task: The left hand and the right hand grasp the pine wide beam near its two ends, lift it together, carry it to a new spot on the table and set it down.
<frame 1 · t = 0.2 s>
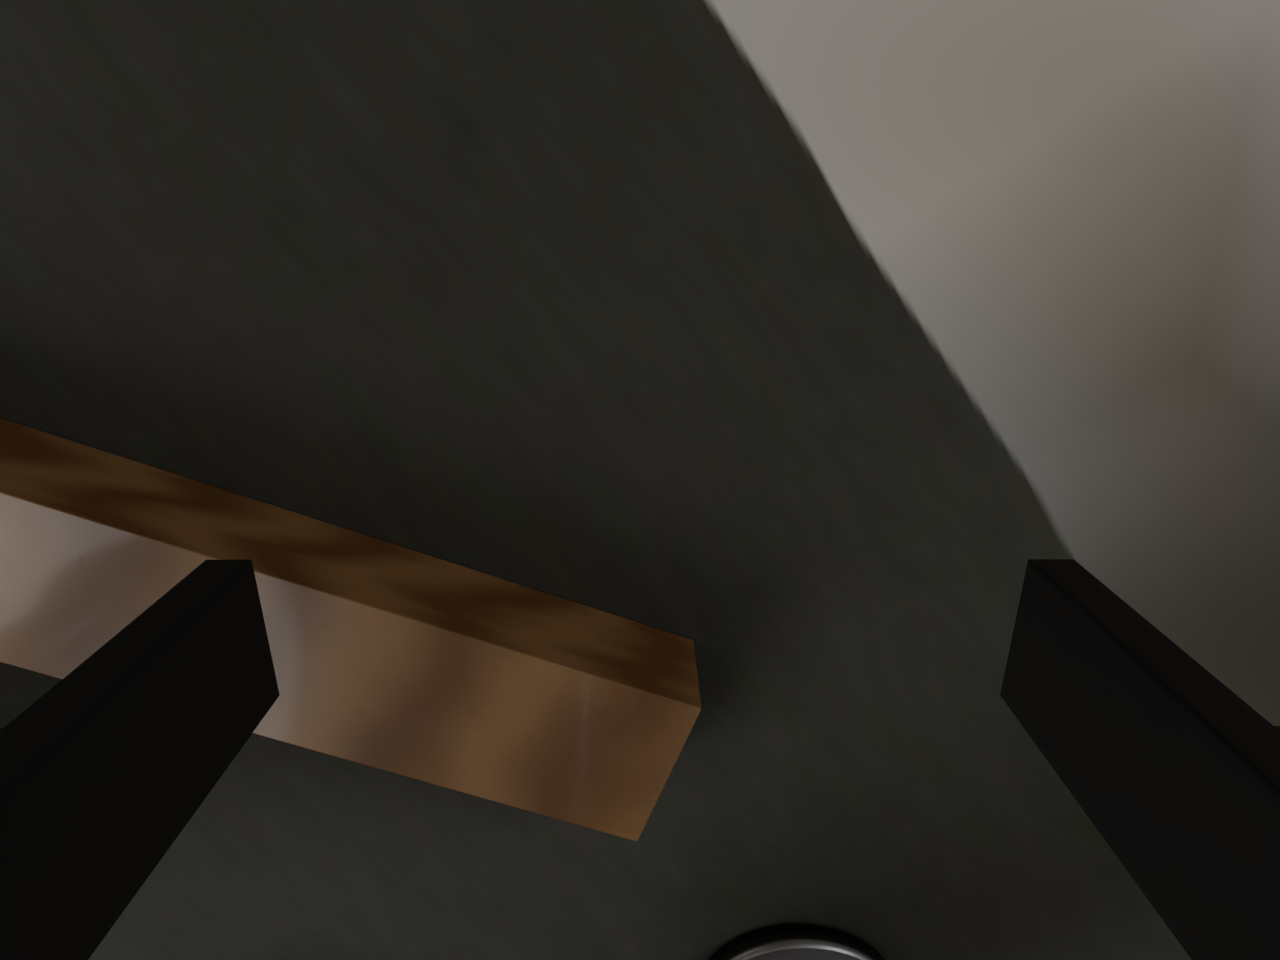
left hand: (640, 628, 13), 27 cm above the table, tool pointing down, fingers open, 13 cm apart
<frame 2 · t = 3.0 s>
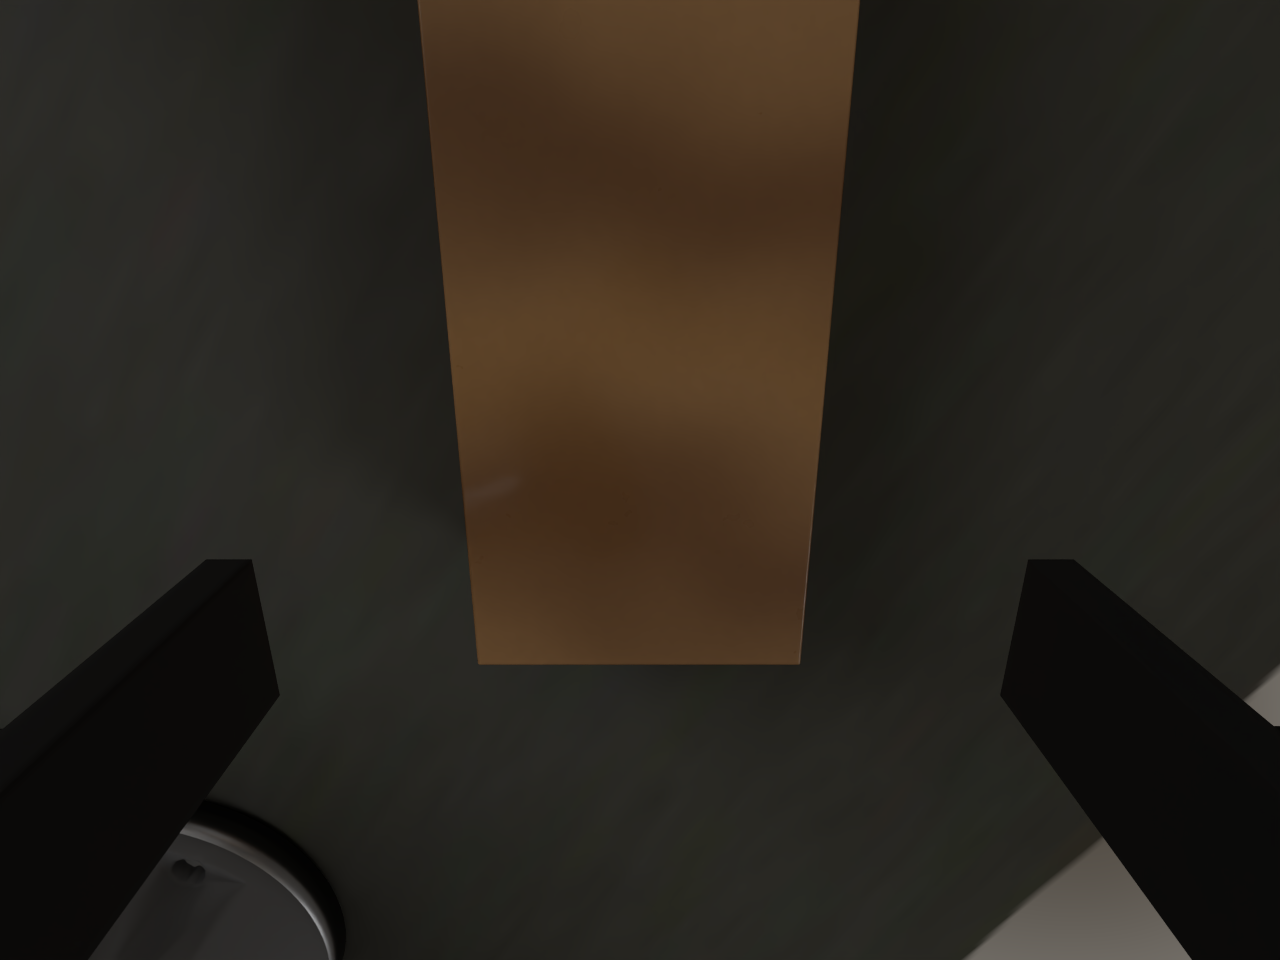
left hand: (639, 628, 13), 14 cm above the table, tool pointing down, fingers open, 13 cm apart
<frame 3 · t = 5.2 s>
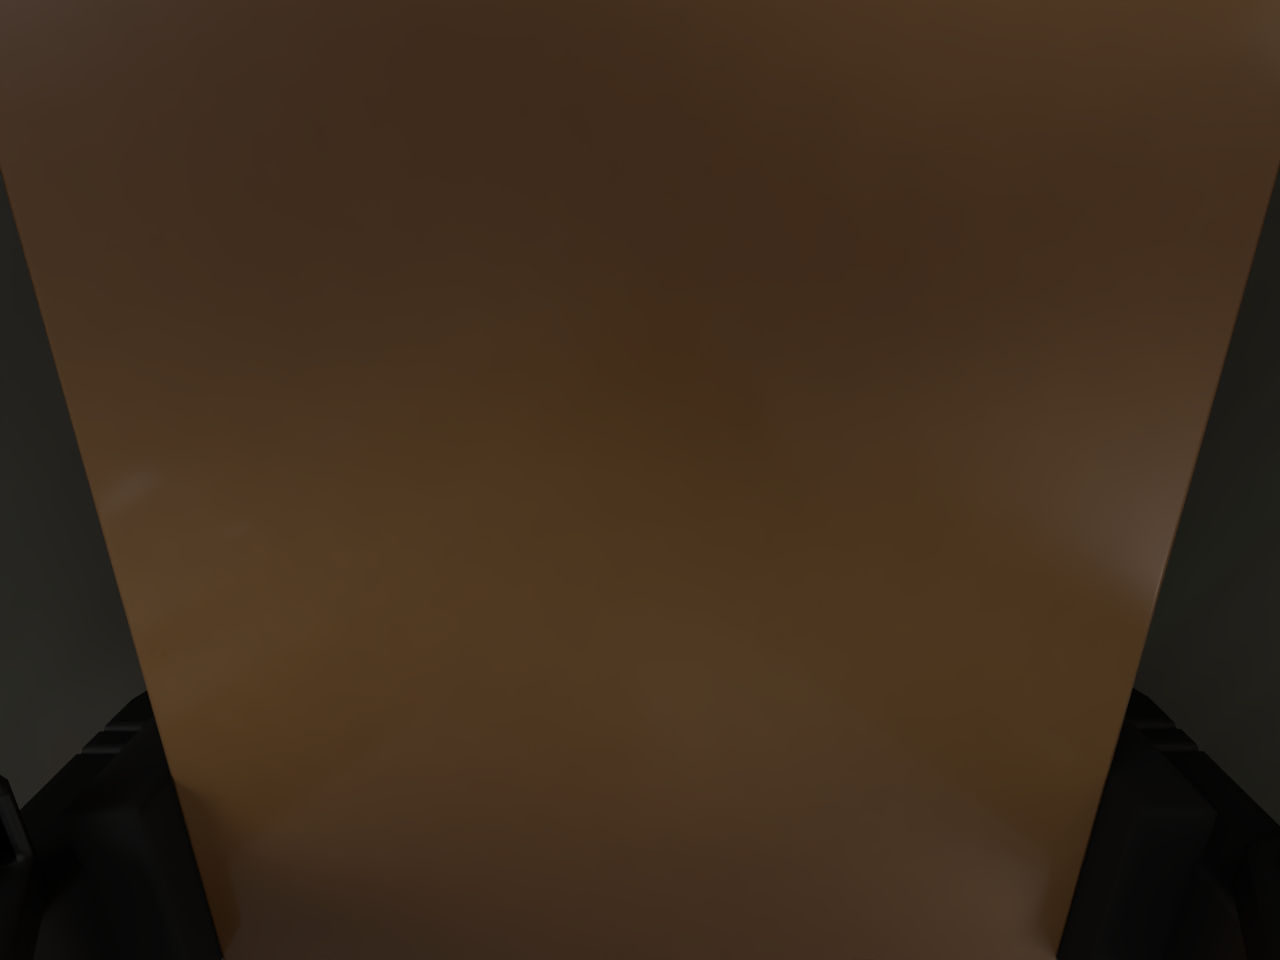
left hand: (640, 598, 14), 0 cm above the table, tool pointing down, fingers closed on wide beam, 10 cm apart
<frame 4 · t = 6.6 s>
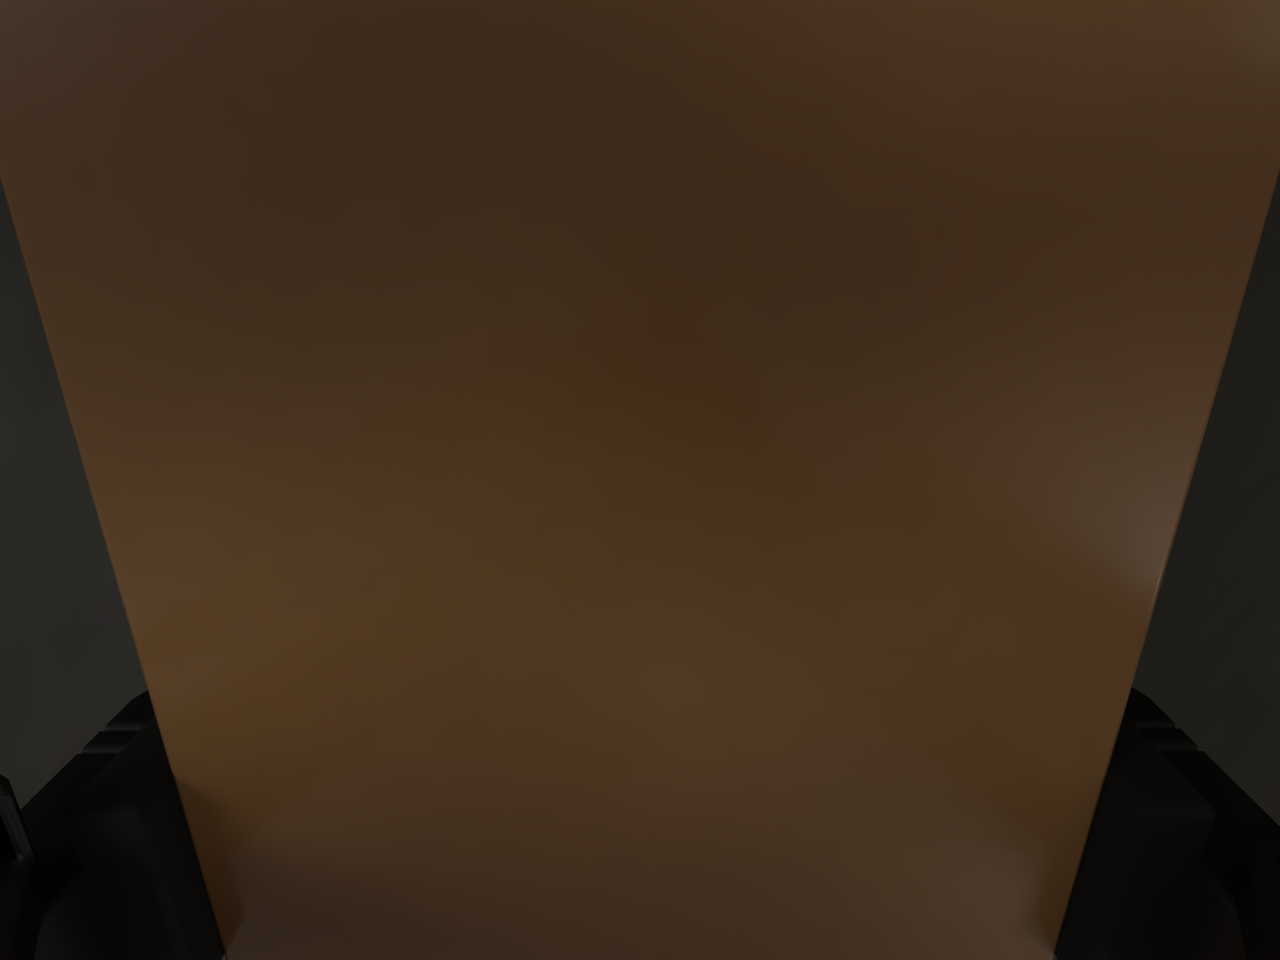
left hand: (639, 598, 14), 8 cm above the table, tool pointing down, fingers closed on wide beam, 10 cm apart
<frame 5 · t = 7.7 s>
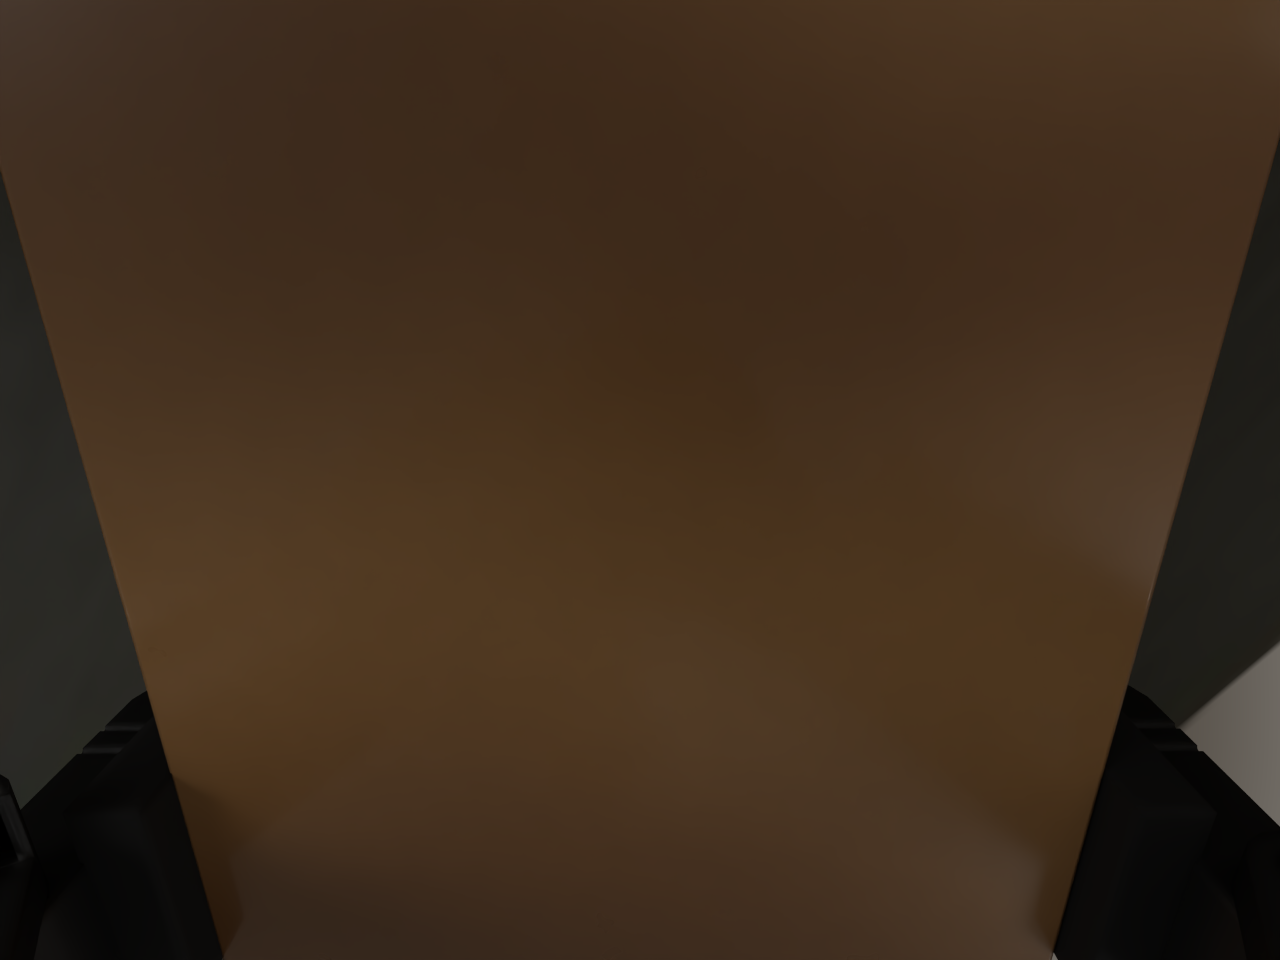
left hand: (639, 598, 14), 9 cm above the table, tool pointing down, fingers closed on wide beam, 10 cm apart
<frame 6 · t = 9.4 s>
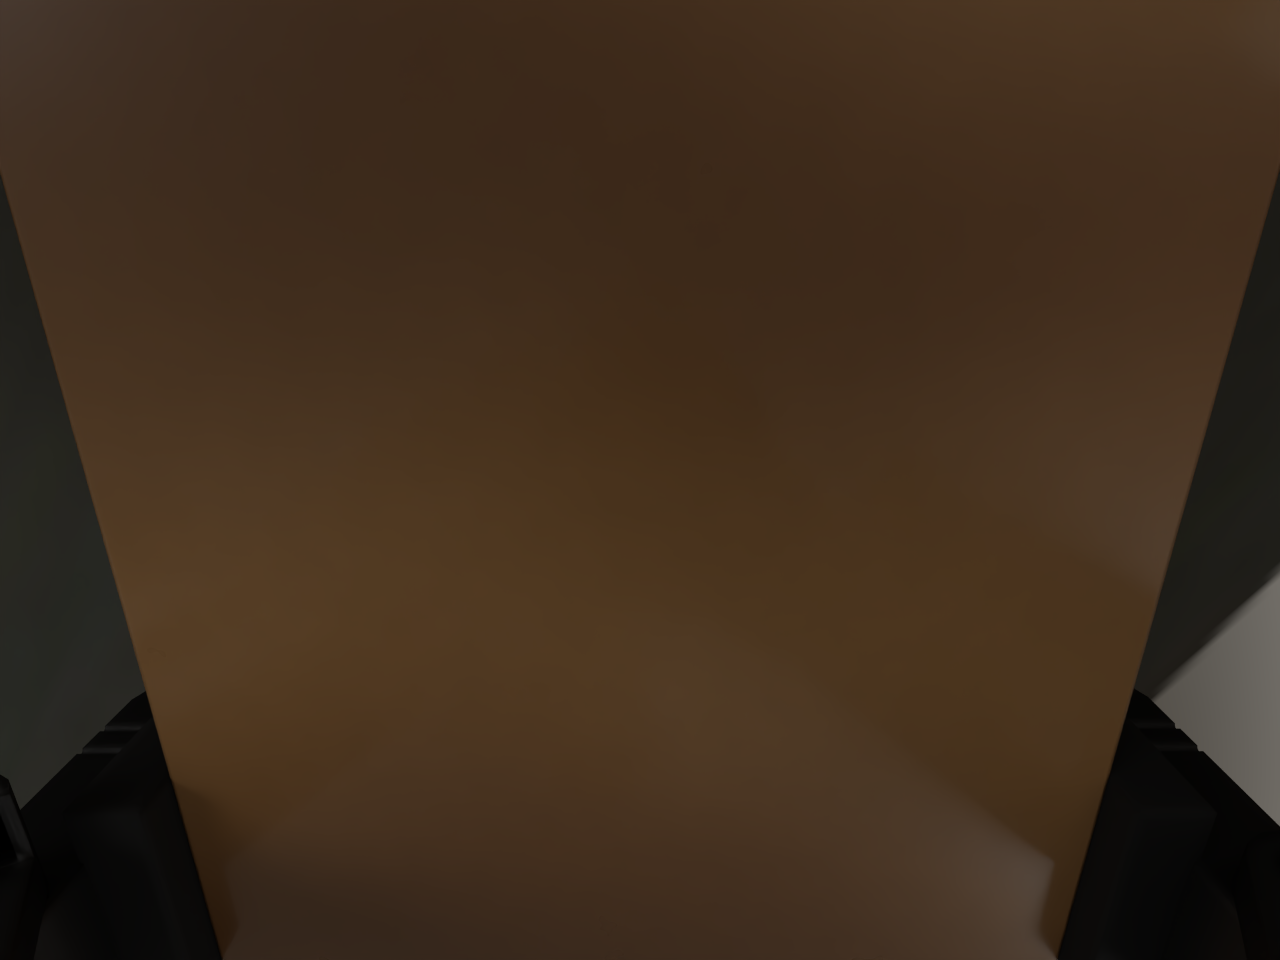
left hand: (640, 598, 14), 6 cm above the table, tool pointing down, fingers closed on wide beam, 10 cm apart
when the left hand's fingers open (2 cm above the table, at t = 10.6 s): wide beam stays where it is, on the table.
when the right hand's fingers open (1 cm above the table, at t = 10.6 s): wide beam stays where it is, on the table.
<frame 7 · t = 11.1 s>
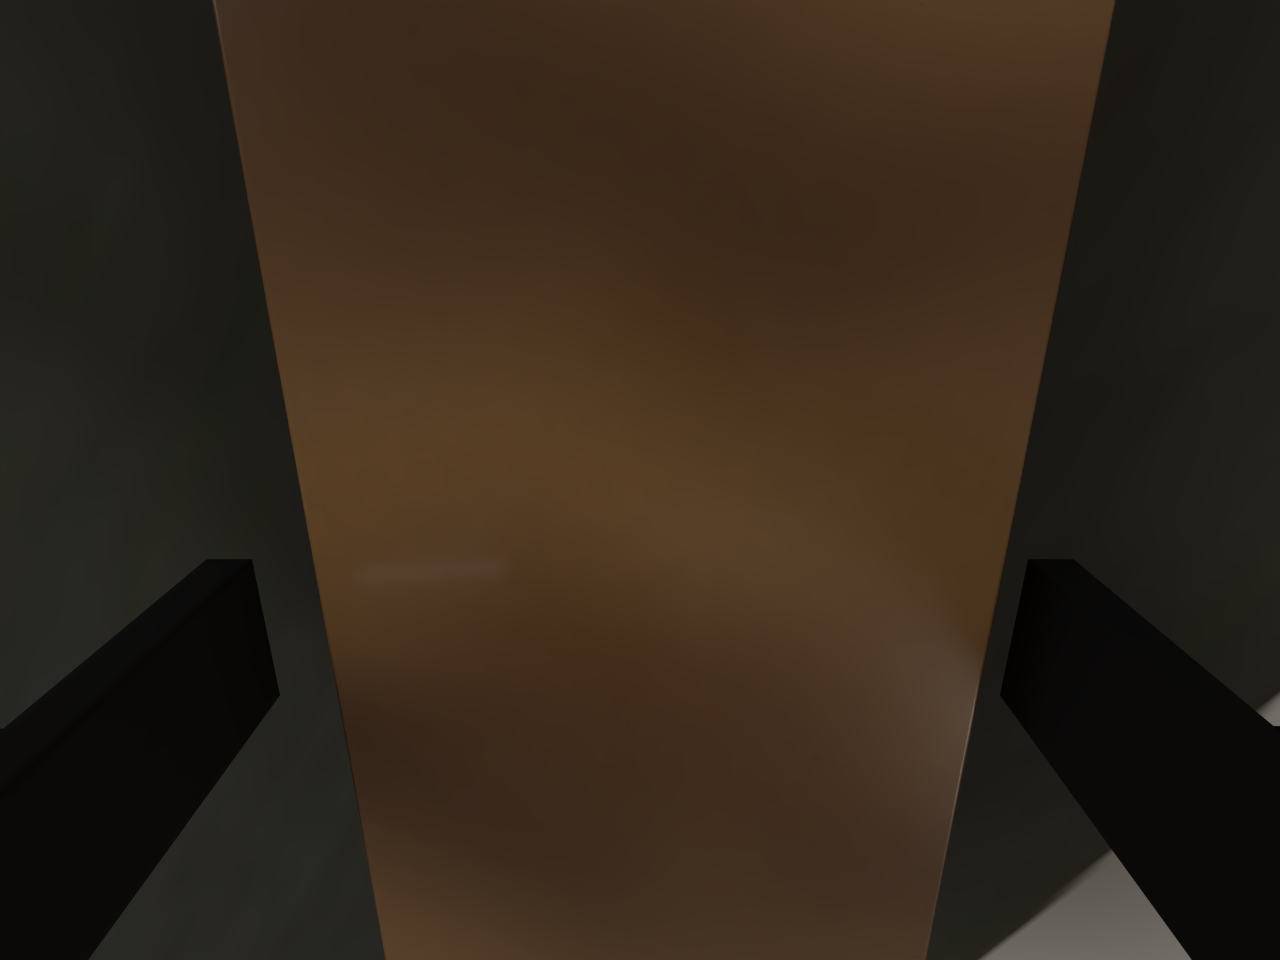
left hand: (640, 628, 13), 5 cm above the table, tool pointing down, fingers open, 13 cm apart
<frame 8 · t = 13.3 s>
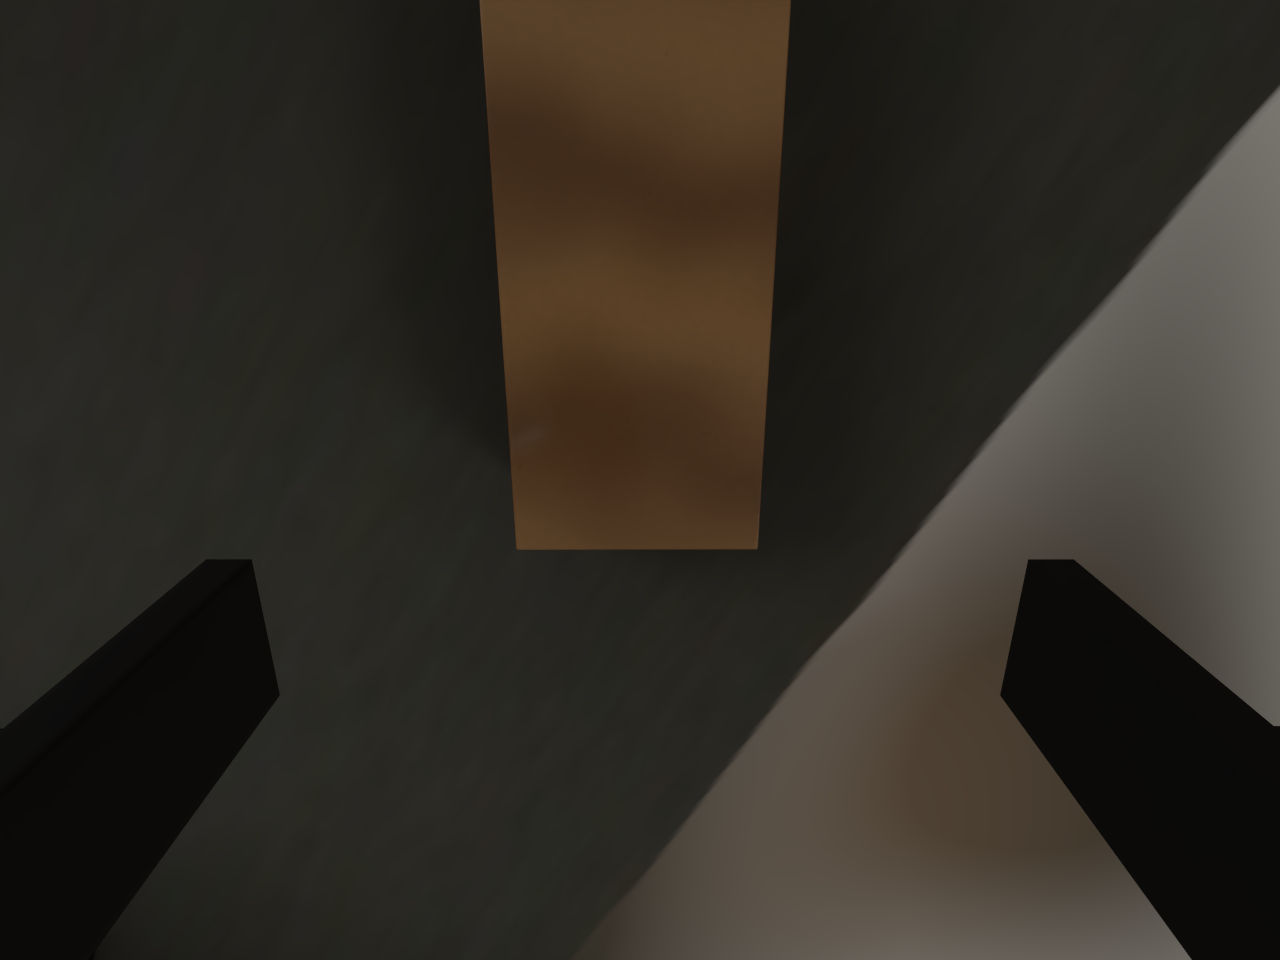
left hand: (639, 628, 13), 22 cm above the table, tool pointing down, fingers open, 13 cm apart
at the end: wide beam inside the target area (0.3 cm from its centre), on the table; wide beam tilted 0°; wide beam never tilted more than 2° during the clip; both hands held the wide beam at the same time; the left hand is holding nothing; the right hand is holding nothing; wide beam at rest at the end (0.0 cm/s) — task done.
